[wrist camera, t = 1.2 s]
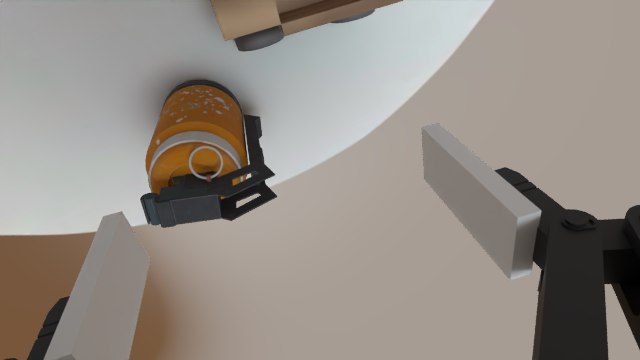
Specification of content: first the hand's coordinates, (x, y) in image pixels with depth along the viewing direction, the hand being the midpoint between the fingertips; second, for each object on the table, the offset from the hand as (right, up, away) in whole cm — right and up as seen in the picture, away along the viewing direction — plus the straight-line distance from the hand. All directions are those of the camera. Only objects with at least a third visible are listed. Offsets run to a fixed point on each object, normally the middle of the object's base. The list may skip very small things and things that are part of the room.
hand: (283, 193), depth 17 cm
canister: (-11, +8, +30) cm, 33 cm away
